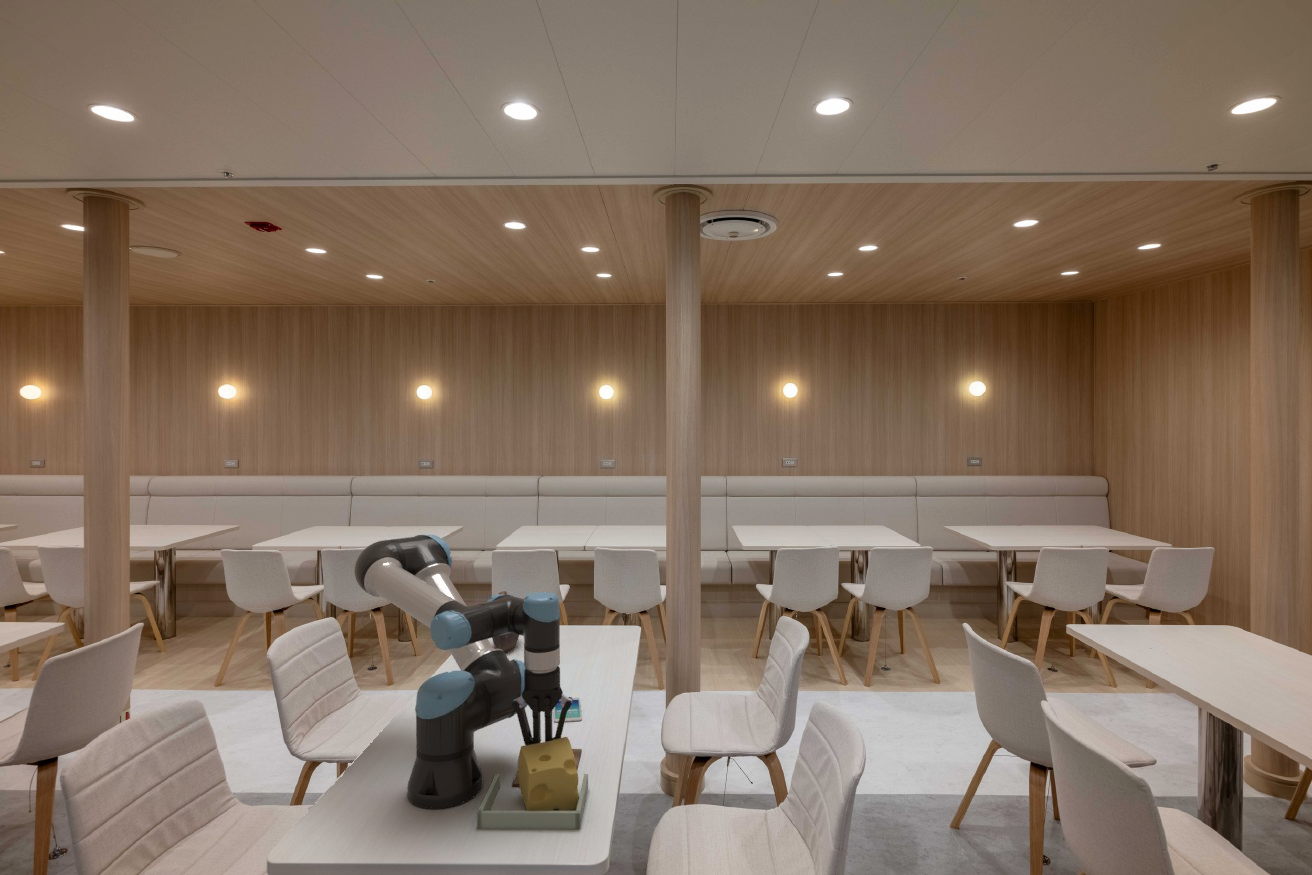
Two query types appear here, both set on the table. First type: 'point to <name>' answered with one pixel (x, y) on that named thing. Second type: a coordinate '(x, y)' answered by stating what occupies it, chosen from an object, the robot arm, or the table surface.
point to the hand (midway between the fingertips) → (543, 776)
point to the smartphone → (569, 711)
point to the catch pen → (529, 813)
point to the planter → (505, 638)
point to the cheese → (548, 776)
